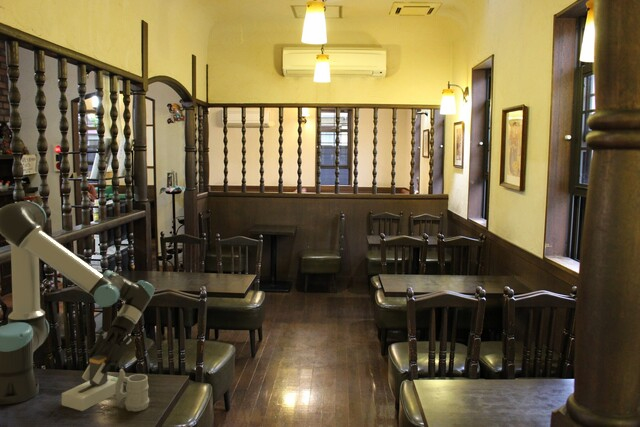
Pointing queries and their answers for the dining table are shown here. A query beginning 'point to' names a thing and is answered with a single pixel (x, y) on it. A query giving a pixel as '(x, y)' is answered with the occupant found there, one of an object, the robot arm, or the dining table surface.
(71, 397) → the switch box
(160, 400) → the dining table surface
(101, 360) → the lever
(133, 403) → the mug
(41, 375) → the dining table surface
